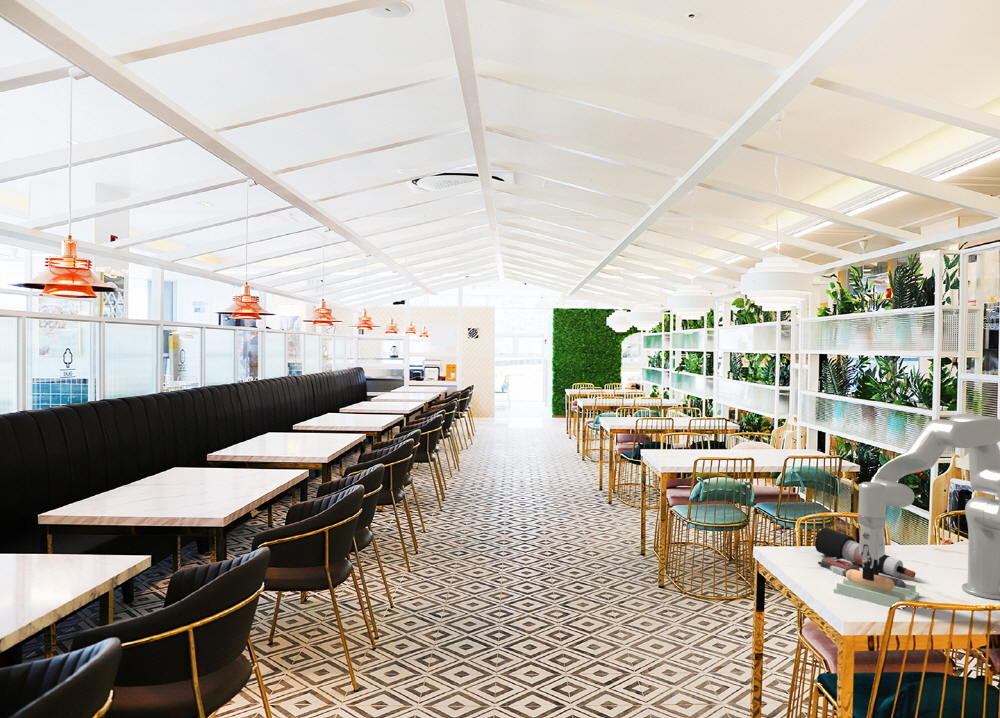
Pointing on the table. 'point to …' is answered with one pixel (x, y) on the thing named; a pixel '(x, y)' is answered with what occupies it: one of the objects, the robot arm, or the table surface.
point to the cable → (854, 552)
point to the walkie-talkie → (838, 565)
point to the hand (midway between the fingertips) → (870, 577)
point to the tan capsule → (877, 583)
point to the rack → (877, 593)
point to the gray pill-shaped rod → (896, 581)
